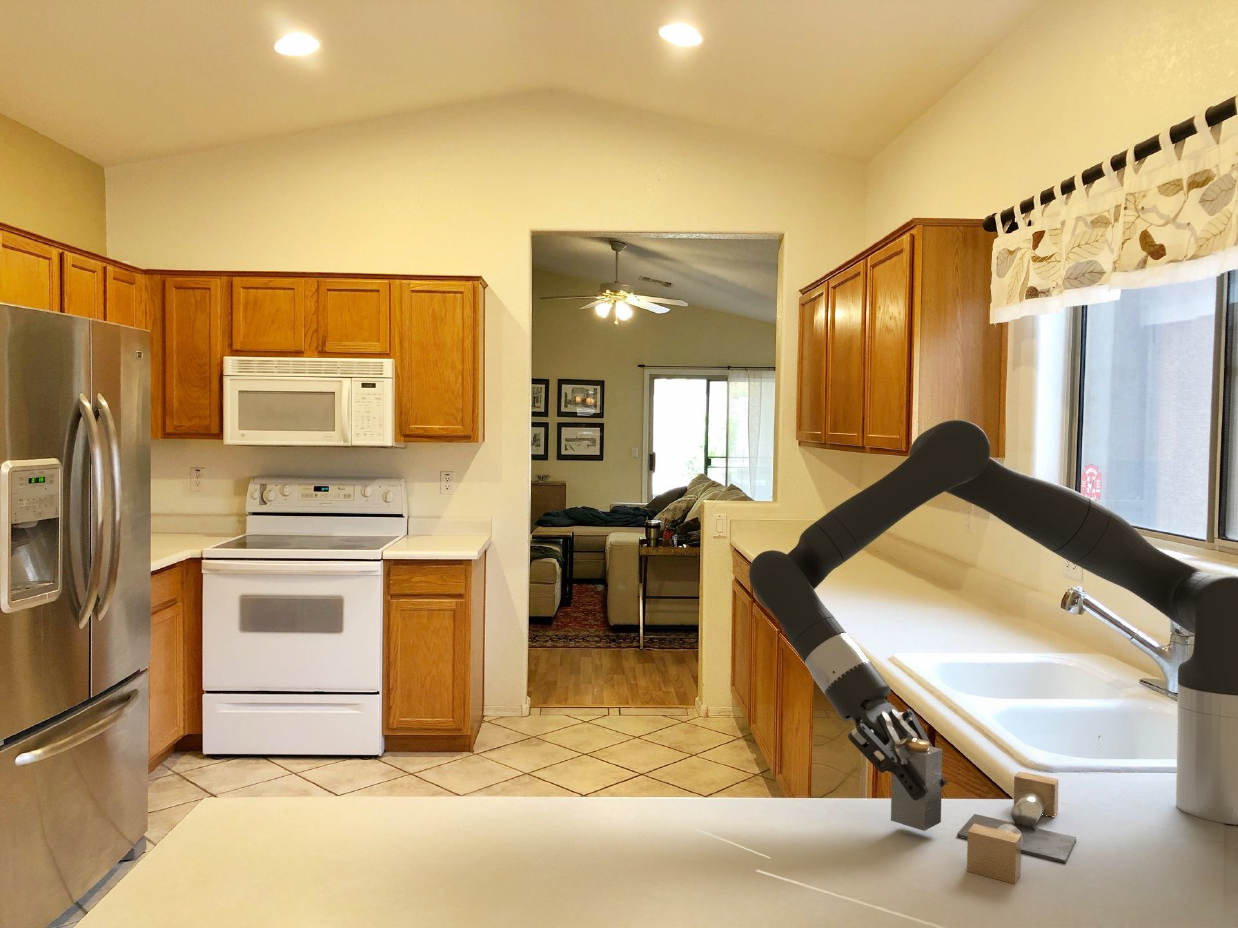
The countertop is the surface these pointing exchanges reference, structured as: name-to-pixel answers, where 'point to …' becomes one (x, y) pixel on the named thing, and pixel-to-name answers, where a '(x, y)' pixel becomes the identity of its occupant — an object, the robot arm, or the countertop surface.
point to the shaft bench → (1016, 832)
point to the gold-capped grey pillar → (930, 772)
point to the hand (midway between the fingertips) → (931, 791)
